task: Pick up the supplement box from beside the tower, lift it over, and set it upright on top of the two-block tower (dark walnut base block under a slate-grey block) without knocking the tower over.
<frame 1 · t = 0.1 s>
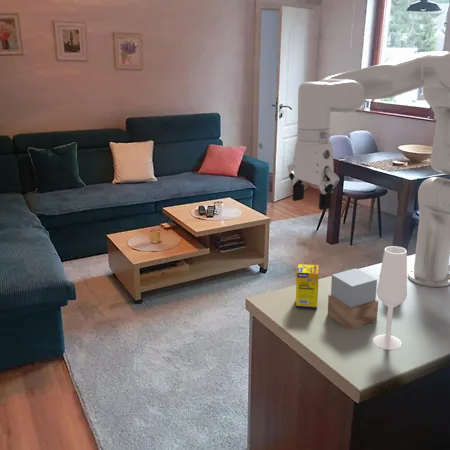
hand: (311, 204, 123), 31 cm above the table, tool pointing down, fingers open, 9 cm apart
champagne flute: (387, 342, 119), on the table
tower base block: (351, 318, 130), on the table, touching tower top block
supplement box: (306, 304, 138), on the table
tower top block: (352, 297, 128), point 6 cm above the table, touching tower base block
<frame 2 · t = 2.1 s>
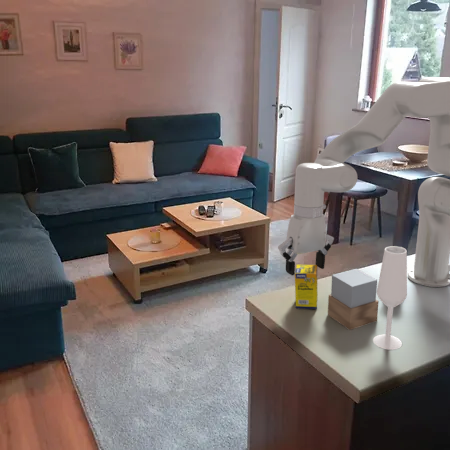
hand: (305, 270, 134), 10 cm above the table, tool pointing down, fingers open, 9 cm apart
nothing on the table moved.
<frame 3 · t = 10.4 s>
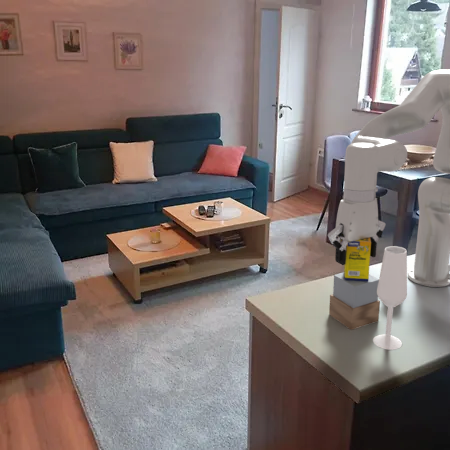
hand: (355, 259, 125), 17 cm above the table, tool pointing down, fingers open, 9 cm apart
supplement box: (356, 277, 127), point 12 cm above the table, touching gripper, tower top block
tower top block: (355, 298, 128), point 6 cm above the table, touching supplement box, tower base block
everything else where it was.
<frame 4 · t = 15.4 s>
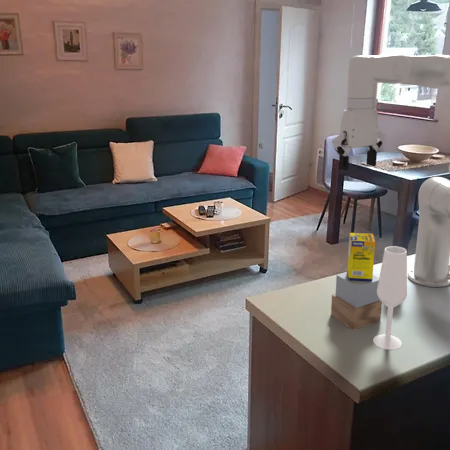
hand: (357, 167, 136), 36 cm above the table, tool pointing down, fingers open, 9 cm apart
supplement box: (359, 277, 127), point 12 cm above the table, touching tower top block
everything else where it was.
at the end: supplement box 0.4 cm off-centre on the tower top block, point 5.8 cm above the tower top block's base; tower top block point 5.8 cm above the table; supplement box tilted 1° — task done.
